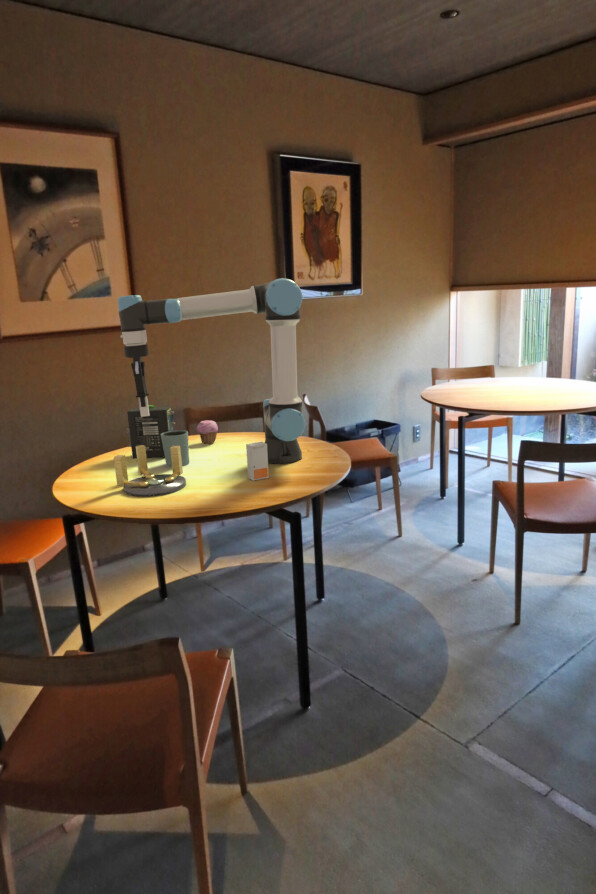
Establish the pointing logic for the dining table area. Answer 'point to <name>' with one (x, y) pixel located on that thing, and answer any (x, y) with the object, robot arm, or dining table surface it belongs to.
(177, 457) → the tan l-shaped bracket
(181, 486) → the levelling plate
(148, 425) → the router
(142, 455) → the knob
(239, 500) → the dining table surface
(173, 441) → the grey cup
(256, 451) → the skincare box
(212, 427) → the cupcake
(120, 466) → the ball-tipped golden bracket
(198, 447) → the dining table surface
